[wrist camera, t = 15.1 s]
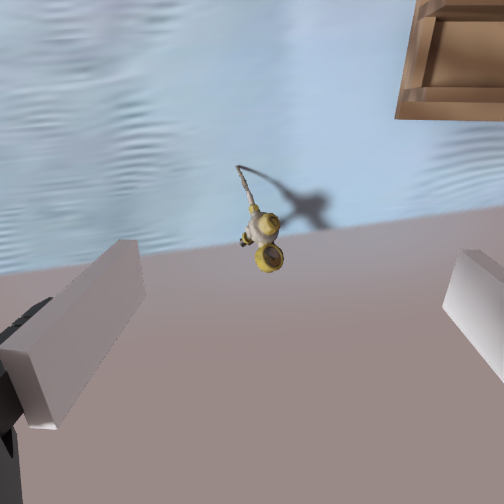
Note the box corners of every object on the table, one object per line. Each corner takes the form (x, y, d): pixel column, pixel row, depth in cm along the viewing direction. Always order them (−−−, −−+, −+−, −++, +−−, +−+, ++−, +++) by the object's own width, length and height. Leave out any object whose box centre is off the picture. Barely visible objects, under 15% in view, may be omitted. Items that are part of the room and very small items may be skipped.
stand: (411, -7, 33) (455, -42, 25) (553, -8, 33) (645, -44, 25) (389, 118, 38) (419, 122, 30) (511, 120, 38) (575, 125, 30)
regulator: (233, 147, 38) (274, 261, 34) (260, 151, 41) (302, 258, 36) (209, 185, 44) (241, 287, 39) (234, 186, 46) (267, 282, 42)
